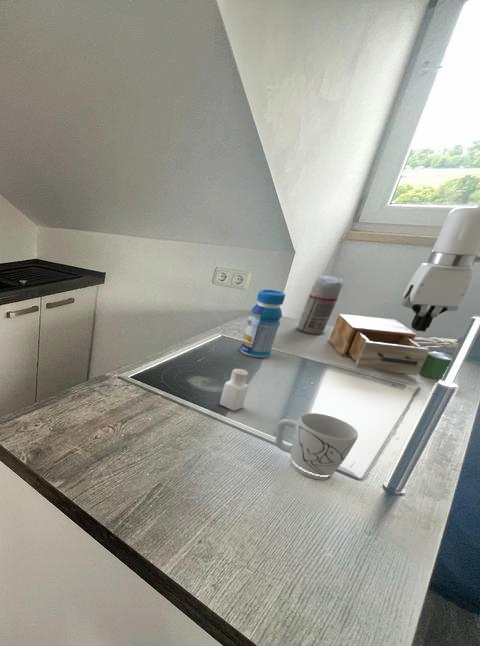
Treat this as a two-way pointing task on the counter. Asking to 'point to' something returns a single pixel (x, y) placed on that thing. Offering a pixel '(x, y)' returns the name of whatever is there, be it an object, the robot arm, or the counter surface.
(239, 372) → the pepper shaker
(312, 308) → the spray can
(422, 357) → the drawer
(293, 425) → the mug
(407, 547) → the counter surface
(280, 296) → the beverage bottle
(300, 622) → the counter surface
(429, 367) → the tin can
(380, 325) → the cabinet
